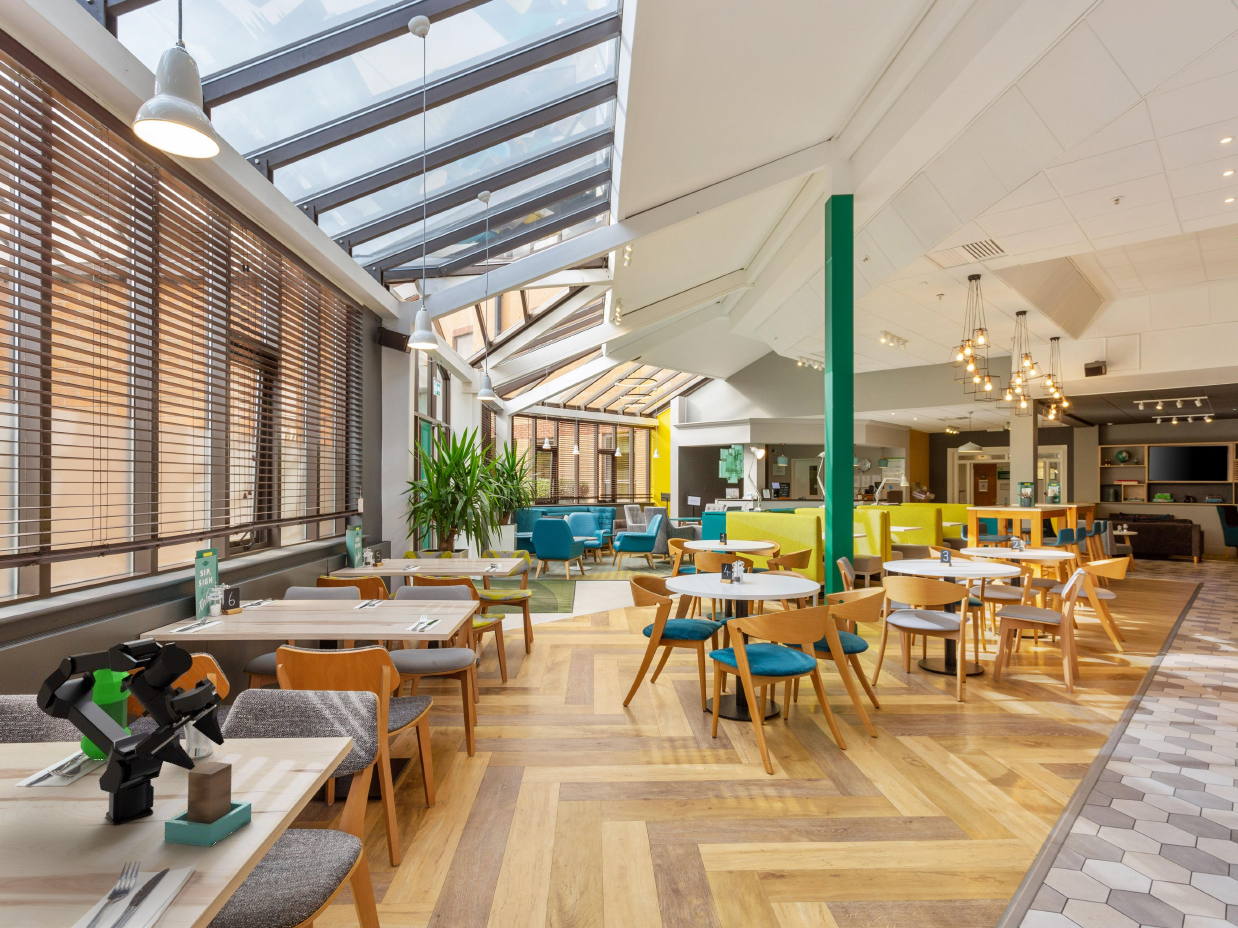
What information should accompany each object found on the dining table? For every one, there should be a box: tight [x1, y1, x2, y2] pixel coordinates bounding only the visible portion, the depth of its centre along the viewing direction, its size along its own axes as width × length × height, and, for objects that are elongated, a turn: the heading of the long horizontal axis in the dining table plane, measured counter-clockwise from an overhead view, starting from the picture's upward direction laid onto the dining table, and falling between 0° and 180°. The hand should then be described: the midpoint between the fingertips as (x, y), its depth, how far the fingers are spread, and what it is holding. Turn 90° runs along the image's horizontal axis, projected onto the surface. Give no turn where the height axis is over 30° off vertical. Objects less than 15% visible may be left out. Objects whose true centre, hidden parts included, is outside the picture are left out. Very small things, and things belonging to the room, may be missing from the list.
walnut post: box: [187, 761, 233, 824], centre depth 129 cm, size 5×5×11 cm
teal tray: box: [163, 799, 252, 847], centre depth 129 cm, size 10×10×4 cm
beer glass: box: [182, 690, 217, 760], centre depth 166 cm, size 7×7×15 cm
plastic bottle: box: [80, 669, 132, 760], centre depth 165 cm, size 10×10×25 cm
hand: (208, 755), depth 136 cm, fingers open, 9 cm apart
